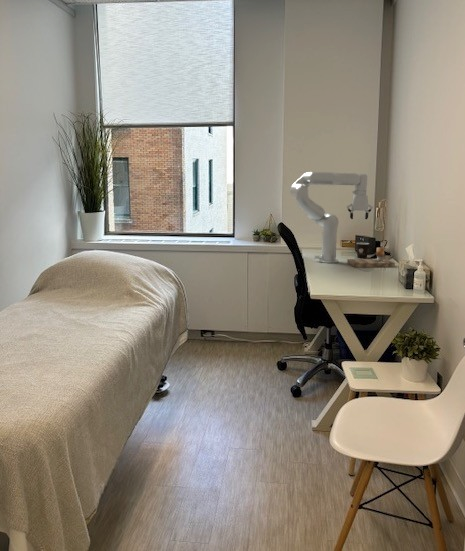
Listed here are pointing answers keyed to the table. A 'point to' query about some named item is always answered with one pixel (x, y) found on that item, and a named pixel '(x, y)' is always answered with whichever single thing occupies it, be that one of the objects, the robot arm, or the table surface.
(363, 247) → the coffee mug
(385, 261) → the board
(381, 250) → the awl
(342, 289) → the table surface
